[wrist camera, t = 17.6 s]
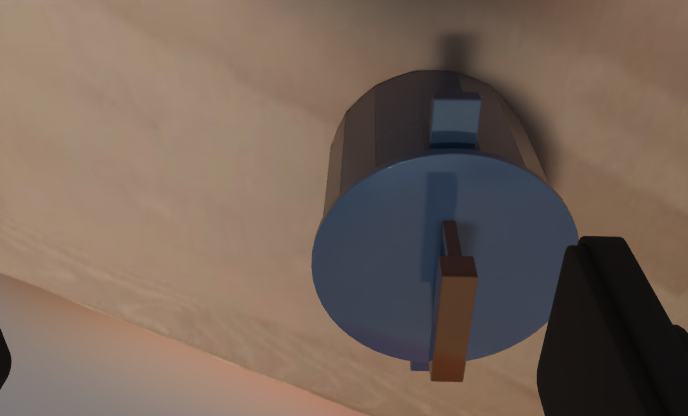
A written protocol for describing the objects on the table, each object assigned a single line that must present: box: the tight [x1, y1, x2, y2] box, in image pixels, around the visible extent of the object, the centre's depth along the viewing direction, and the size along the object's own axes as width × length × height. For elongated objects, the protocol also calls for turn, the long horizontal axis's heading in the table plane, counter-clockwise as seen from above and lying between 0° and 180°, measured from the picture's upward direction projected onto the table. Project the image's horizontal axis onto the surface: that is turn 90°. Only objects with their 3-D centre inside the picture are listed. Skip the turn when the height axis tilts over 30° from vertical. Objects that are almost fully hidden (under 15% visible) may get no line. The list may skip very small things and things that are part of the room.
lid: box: [311, 148, 579, 382], centre depth 34 cm, size 15×15×6 cm
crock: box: [323, 70, 549, 371], centre depth 41 cm, size 14×19×12 cm
